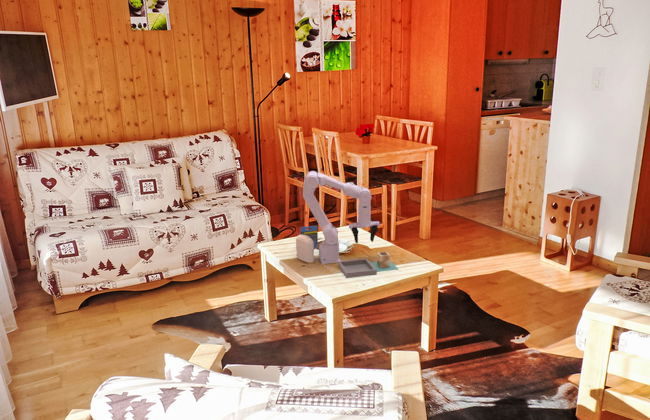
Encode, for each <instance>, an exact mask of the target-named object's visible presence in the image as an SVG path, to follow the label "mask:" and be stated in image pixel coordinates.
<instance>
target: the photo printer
mask: <svg viewBox="0 0 650 420" xmlns="http://www.w3.org/2000/svg"><path fill="white" fill-rule="evenodd" d="M295 247H296V248H295V250H296V258H297V259H299V260H301V261H303V262H305V263H308V264H310V263H313V262H315V248H314V242H313V240H312V239H311V238H310V237H308V236H306V235H299V234H298V235H297V236H296V238H295Z"/></svg>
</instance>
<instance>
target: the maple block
mask: <svg viewBox="0 0 650 420" xmlns="http://www.w3.org/2000/svg"><path fill="white" fill-rule="evenodd" d="M376 254H377V255H376V262H377V265H378V266H379V268H388V267H389V265H390V261H391V257H390V256H391V254H390V253H388V252H387V251H379V252H377V253H376Z"/></svg>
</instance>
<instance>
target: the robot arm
mask: <svg viewBox="0 0 650 420" xmlns="http://www.w3.org/2000/svg"><path fill="white" fill-rule="evenodd" d="M303 180H304V181H303V185H302V186H303V187H302V198H303V199H304V201H305V203H306V204H307V206H308V208H309V209H310V212H311V214H312V215H313V217H314V218H315V220H316V222H317V223H318V225H319V227H320V228H321V232H322V235H323V236H324V240H323V242H322V243H319V244H318V260H319V261H320V263H321V264H323V265H325V264H334V263H338V261H342V260H341V258H340V241H339V235H338V234H339V231H338V229H337V227H335V226H333V224H332V223H331V222H330V220H329V218H328V217H327V215H326V213H325V212H324V210H323V208H322V206H321V205H320V203H319V201H318V199H317V198H316V196H315V194H314V193H315V190H316V189H317V187H323V186H329V187H331V188H334V189H338V190H341V191H342V193H343V195H346V196H348V197H351V198H353V199H357V200H358V205H357V206H358V215H357V217H358V219H357V220H358V222H354V223H348V229H349V230H351V232H352V235H353V237H354V243H355V244H358V243H359V229H361V228H369V230H370V241H371V242H372V243H373V242H374V240H375V237H376V234H377V232H378V231H379V227H380V226H381V225H380V224H381V223H380V221H372V220H371V215H372V214H371V213H372V212H371V211H372V210H371V209H372V205H371V203H372V202H371V200H372V199H373V198H372V193H371V191H370V189H368V188H367V187H363V186H358V185H356V184H354V182H353V181H350V182H342V181H339V180H338V179H335V178H334V177H331V176H329V175H326V174H323V173H322V172H317V171H315V170H311V171H308V172H307V173H306V175H305V177H304V179H303Z"/></svg>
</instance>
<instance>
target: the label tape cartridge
mask: <svg viewBox="0 0 650 420" xmlns="http://www.w3.org/2000/svg"><path fill="white" fill-rule="evenodd" d="M298 235H306V236H308V237H310V238H311V239H312V240H313V242H314V249H317V248H316V246H318V247H319V244H318V243H319V240H318V239H319V238H318V237H319V234H318V225H309V226H301V227H300V232H298Z"/></svg>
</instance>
